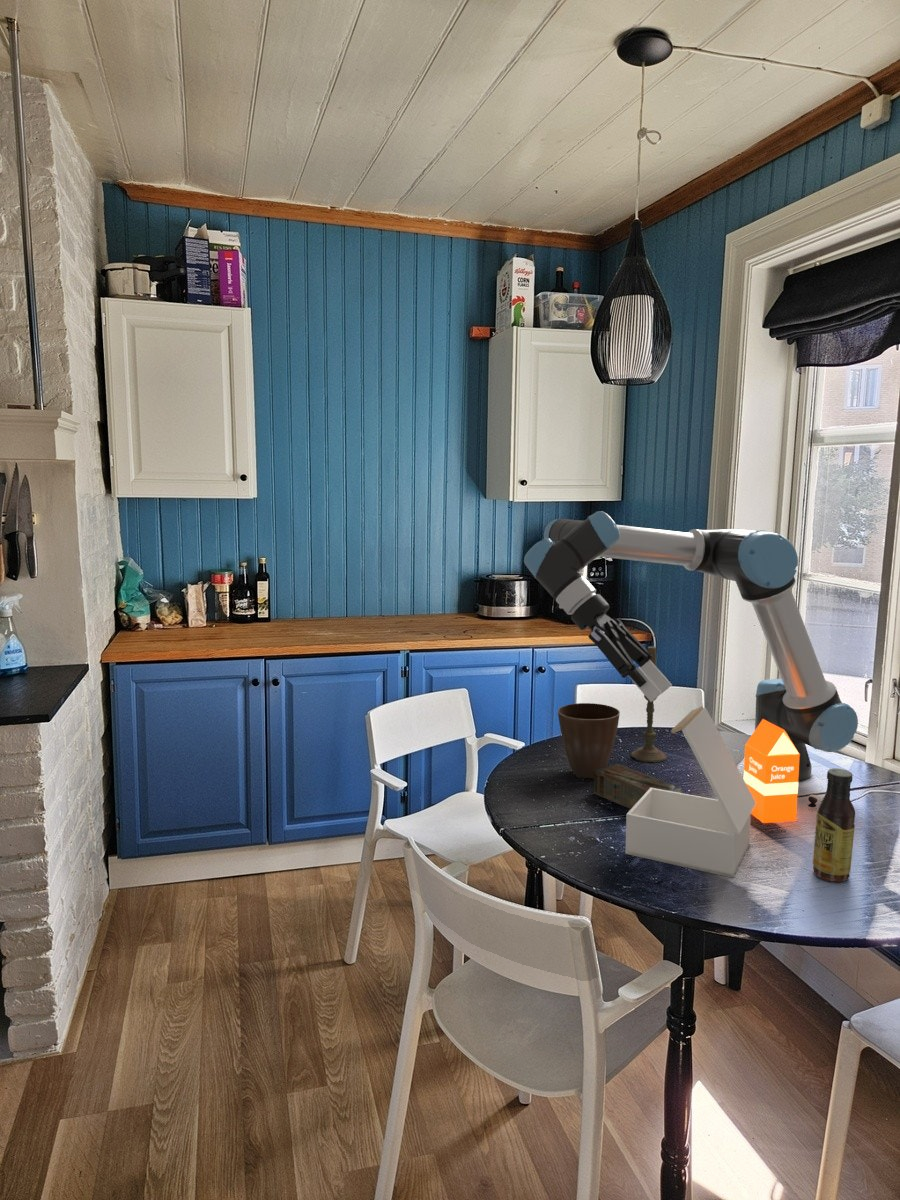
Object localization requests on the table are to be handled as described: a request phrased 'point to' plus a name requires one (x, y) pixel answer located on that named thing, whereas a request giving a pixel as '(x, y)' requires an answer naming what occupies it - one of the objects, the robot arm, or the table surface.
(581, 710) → the plant pot
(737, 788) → the mailer lid
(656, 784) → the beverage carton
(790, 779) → the orange juice
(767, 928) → the table surface
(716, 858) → the box
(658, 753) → the candlestick holder
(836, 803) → the sauce bottle
